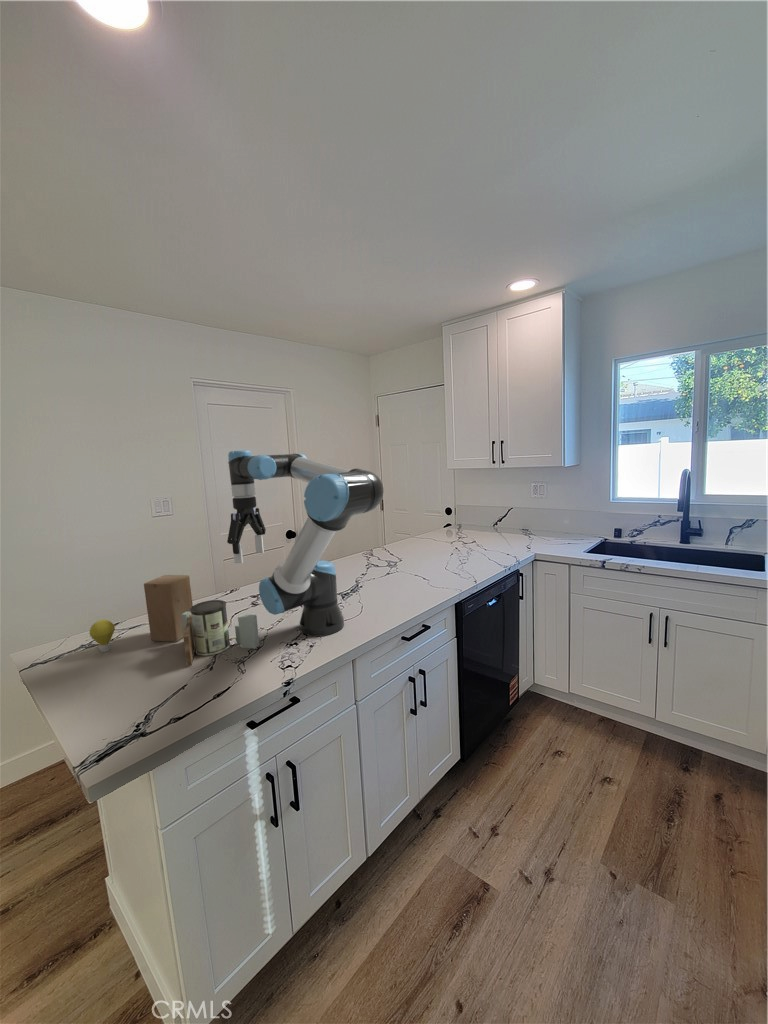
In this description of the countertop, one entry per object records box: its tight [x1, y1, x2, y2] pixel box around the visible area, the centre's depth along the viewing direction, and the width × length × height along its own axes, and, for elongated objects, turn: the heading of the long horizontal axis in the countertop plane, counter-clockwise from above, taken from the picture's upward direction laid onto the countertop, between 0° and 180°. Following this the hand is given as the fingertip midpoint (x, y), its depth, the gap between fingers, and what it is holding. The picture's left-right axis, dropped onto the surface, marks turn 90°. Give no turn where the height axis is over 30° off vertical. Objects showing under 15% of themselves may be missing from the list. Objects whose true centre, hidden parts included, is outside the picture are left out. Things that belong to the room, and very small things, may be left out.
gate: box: [182, 615, 196, 667], centre depth 129 cm, size 18×1×9 cm, turn 20°
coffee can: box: [190, 599, 231, 657], centre depth 131 cm, size 10×10×14 cm
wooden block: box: [143, 574, 194, 643], centre depth 142 cm, size 10×10×20 cm
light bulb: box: [89, 619, 116, 653], centre depth 134 cm, size 7×7×10 cm
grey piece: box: [181, 612, 260, 649], centre depth 134 cm, size 26×3×10 cm, turn 77°
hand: (249, 557), depth 145 cm, fingers open, 13 cm apart
